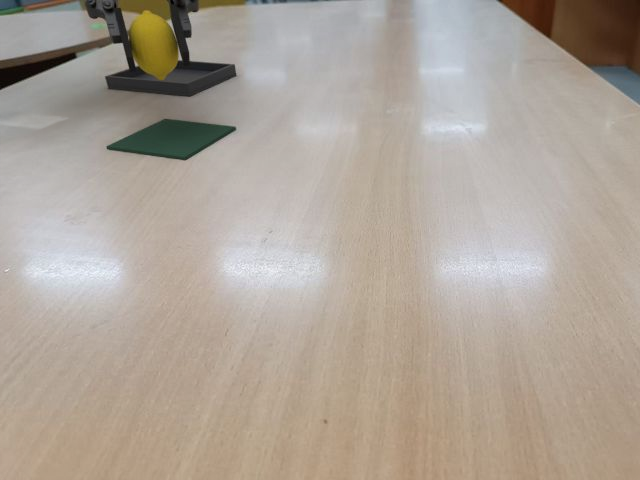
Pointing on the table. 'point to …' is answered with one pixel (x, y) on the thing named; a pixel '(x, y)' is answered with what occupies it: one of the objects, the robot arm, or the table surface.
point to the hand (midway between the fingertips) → (159, 61)
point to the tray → (173, 79)
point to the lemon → (153, 44)
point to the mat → (172, 138)
